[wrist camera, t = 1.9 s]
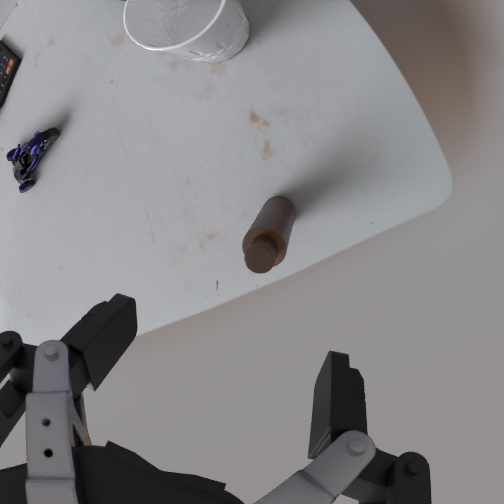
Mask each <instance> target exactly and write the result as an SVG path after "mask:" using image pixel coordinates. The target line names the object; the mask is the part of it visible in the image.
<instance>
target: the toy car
mask: <svg viewBox="0 0 504 504" xmlns="http://www.w3.org/2000/svg"><path fill="white" fill-rule="evenodd" d="M58 137H59V133H58V131H57V129H56V128H50V129H48V130H46V131H44V132H41V133H39V131H37V132H36V133H35V137H34V138H33V139H31V140H30V141H29V142H28V143H26V144H25V145H24V146H23V148H22V150H21V149H20V144H18V147H17V148H16V149H15V148H14V149H12V150H11V151H10V152H8V154H7V155H6V157H7V160H8V161H12V165H13V166H14V167H13V173H14V177H15V178H16V180H17V181H18V183H20V184H21V185H20V186H19V190H20V193H24V192H26V191H28V190H30V189H31V188H32V187H33V186H34V183H33V181H32V180H29V178H30V175H31V173H32V171H33V169H34V168H35V167H36V166H37V165H38V163H39V161H40V159H41V157H42V155H43V154H44V153H45V151H46V147H47V145H48V144H50V143H52V142H54V141H55V140H56V139H57V138H58ZM27 146H28V147H27ZM24 150H25V151H24ZM23 151H24V152H23ZM27 153H28V154H27Z"/></svg>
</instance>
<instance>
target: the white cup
mask: <svg viewBox="0 0 504 504" xmlns="http://www.w3.org/2000/svg"><path fill="white" fill-rule="evenodd" d="M123 19H124V26H125V29H126V31H127V33H128V35H129V37H130V38H131V39H132V40H133V41H134V42H135V43H136V44H138V45H140V46H142V47H144V48H147V49H150V50H155V51H159V52H163V53H167V54H171V55H174V56H178V57H182V58H187V59H191V60H196V61H201V62H208V63H217V62H221V61H224V60H228V59H230V58H231V57H233V56H234V55H235V54H237V53H238V52H239V51H241V50H242V48H243V47H244V45H245V43H246V41H247V40H248V38H249V22H248V20H247V18H246V16H245V14H244V10H243V8H242V6H241V4H240V2H239V0H127V1H126V4H125V8H124V15H123Z"/></svg>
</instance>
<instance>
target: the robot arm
mask: <svg viewBox="0 0 504 504" xmlns="http://www.w3.org/2000/svg"><path fill="white" fill-rule="evenodd" d="M136 333H137V314H136V301H135V299H134V298H131V297H128V296H125V295H122V294H119V293H118V294H116V295H115V296H114V297H113V298H112V299H111V300H110V301H109V302H106V301H104V302H101V303H99V304H97V305H95V306H94V307H93V308H92V309H91V310H90V311H89V312H87V315H86V314H85V315H84V316H83V317H82V318H81V320H79V321H78V322H77V323H76V324H75V325H74V326H73V327H72V328H71V329H70V330H69V331H68V332H67V333H66V334H65V335H64V336H63V337H62V338H61V339H60V340H59V341H58V340H49V341H45V342H43V343H42V344H40V345H39V346H34V345H29V344H24V343H23V342H22V339H21V336H20V335H19V334H18V333H17V332H14V331H5V332H2V333H1V334H0V383H1V382H2V380H3V379H4V378H5V377H6V376H8V378H9V380H8V381H7V382H6V383H5V385H4V386H3V387H2V388H1V390H0V447H1V445H2V444H3V442H4V441H5V439H6V438H7V436H8V435H9V433H10V432H11V431H12V429H13V428H14V426H15V425H16V423H17V422H18V420H19V419H20V418H21V416H22V415H23V413H24V412H25V411H26V453H27V463H25V464H21V465H17V466H14V467H10V468H6V469H2V470H0V504H244V503H243V502H242V501H241V500H240V499H238V498H237V497H236V496H234V495H233V494H231V493H229V492H228V491H225V490H224V489H225V485H226V483H222V482H218V481H214V480H211V479H207V478H203V477H201V476H197V475H191V474H182V473H173V472H166V471H162V470H159V469H158V468H156V467H155V466H153V465H152V464H150V463H149V462H147V461H146V460H144V459H143V458H142V457H140V456H139V455H137V454H136V453H135V452H132V451H130V450H128V449H125V448H123V447H121V446H119V445H117V444H115V443H113V442H110V441H108V442H107V444H106V446H105V447H103V446H96V445H92V443H91V440H90V437H89V434H88V429H87V423H86V415H85V408H84V399H83V393H82V392H83V390H84V389H85V388H86V387H87V388H89V389H91V390H93V391H96V389H97V388H98V387H99V385H100V384H101V383H102V381H103V380H104V379H105V377H106V376H107V374H108V373H109V372H110V370H111V369H112V368H113V366H114V365H115V364H116V363H117V361H118V360H119V358H120V357H121V356H122V355H123V353H124V352H125V351H126V349H127V348H128V347H129V345H130V344H131V343H132V341H133V340H134V338H135V336H136ZM308 459H314V460H313V461H312V462H311V463H310V464H309V465H307V466H306V467H305V468H304V469H302V470H299V471H297V472H296V473H294V474H293V475H292V476H291V477H289V478H288V479H287V480H285V481H284V482H283V483H281V484H280V485H279V486H277V487H276V488H275V489H273V490H272V491H271V492H269V493H268V494H267V495H265V496H264V497H262V498H261V499H259V500H258V501H257V502H255V503H254V504H332V503H333V502H334V501H335V500H336V498H337V497H338V496H339V495H340V494H342V495H345V496H347V497H350V498H353V499H355V500H358V501H359V504H431V482H430V468H429V464H428V462H427V460H426V459H425V458H424V457H423V456H422V455H420V454H419V453H415V452H406V453H403V454H402V455H400V456H399V457H397V456H394V455H391V454H388V453H386V452H383V451H381V450H379V449H378V448H376V447H375V444H374V442H373V440H372V439H371V438H370V437H369V436H368V433H367V418H366V402H365V393H364V380H363V378H362V376H361V374H360V372H359V370H358V369H353V368H350V366H349V355H348V354H345V353H339V352H334V351H329V352H328V355H327V357H326V359H325V361H324V364H323V366H322V368H321V370H320V373H319V375H318V377H317V380H316V384H315V388H314V399H313V411H312V422H311V432H310V442H309V452H308Z"/></svg>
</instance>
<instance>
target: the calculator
mask: <svg viewBox="0 0 504 504" xmlns="http://www.w3.org/2000/svg"><path fill="white" fill-rule="evenodd" d="M20 62H21V59H20V58H19V57H18V56H17V55H16V54H15V53H14V52H13V51H12V50H10V49H9V48H8V47H7V46H6V45H5V44H4V43H3V42H2V41H0V108H1V106H2V105H3V104H4V102H5V99H6V97H7V94H8V91H9V89H10V86H11V84H12V81H13V79H14V76H15V74H16V71H17V69H18V67H19V65H20Z"/></svg>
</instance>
